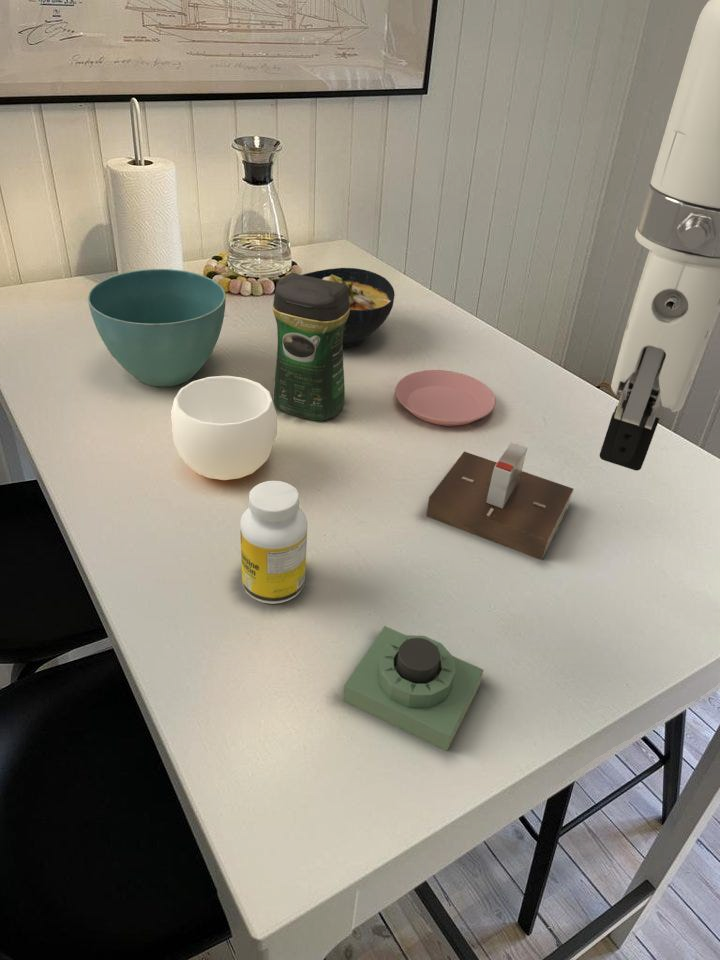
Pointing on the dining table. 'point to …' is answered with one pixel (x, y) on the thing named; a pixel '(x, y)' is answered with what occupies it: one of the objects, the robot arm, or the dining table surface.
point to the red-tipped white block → (506, 475)
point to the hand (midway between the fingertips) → (621, 459)
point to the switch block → (413, 690)
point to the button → (418, 660)
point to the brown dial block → (515, 525)
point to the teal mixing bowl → (159, 322)
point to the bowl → (361, 301)
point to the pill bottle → (273, 543)
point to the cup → (224, 426)
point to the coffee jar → (310, 346)
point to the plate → (445, 397)
